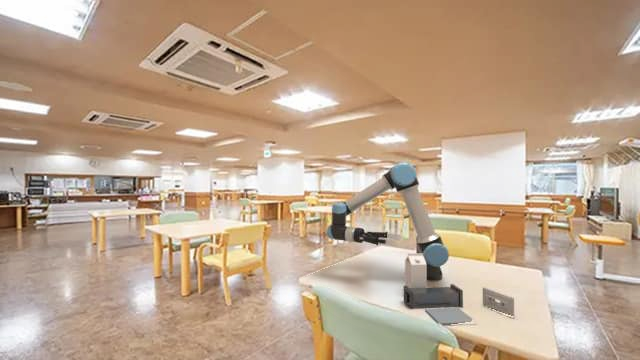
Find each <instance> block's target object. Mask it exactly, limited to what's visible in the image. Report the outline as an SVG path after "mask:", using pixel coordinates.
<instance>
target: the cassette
mask: <svg viewBox="0 0 640 360" xmlns="http://www.w3.org/2000/svg"><path fill="white" fill-rule="evenodd" d="M496 300H497V301H496ZM498 301H499V302H498ZM483 305H484V306H483ZM482 306H483V307H485V306H487V307H488V308H491V309H494V310H496V311H499V312H502V313H505V314H508V315H511V316H514V317H515V298H514V297H512V296H511V295H510V296H509V295H506V294H504V293H501V292H498V291H496V290H493V289H490V288H488V287H485V286H484V287H482ZM487 307H486V308H487ZM488 308H487V309H488ZM491 309H490V310H491Z"/></svg>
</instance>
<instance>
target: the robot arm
mask: <svg viewBox="0 0 640 360" xmlns="http://www.w3.org/2000/svg"><path fill="white" fill-rule="evenodd" d="M419 186H420V182H419V181H418V177H417V170H416V169H415V167H414V166H413V165H412V164H410V163H409V162H399V163H396V164H395V165H393V166H392V167H391V168H390V169H389V170H388V171H387V172H386V173H384V174H383V175H382V176H381V178H380V179H377V180H376V181H375V182H374V183H372V184H370V185H368V186H367V187H366V188H364V189H363V190H361V191H359V192H357V193H356V194H355V195H353V196H351V197H350V198H348V199H346V201H344V202H342V203H339V202H337V203H336V202H335V203H332V207H331V224H330V225H328V227H327V229H326V236H327V237H328V239H330V240H331V239H332V240H335V241H344V242H349V243H352V242H353V243H356V244H357V243H359V244H361V243H364V242H366V243H369V244H373V245H375V246H379V245H386V246H394V241H401V234H398V233H397V234H396V233H390V232H388V231H385V232H384V231H383V232H382V231H381V232H380V231H365V229H364V228H362V227H355V226H346V225H347V217H348V216H349V215H350V214H352V213H353V212H355V211H357V210H358V209H360V208H361V207H363V206H365V205H366V204H368V203H369V202H371V201H373V200H374V199H376V198H378V197H379V196H381V195H382V194H385V193H386V192H387V191H389V190H391V191H393V190H394V189H395V190H396V192H397V193H398V194H401V197H402V199H403V202H404V204H405V207H406V209H407V213H408V215H409V217H410V220H411V223H412V225H413V227H414V231H415V233H416V238H415V241H416V244H415V245H416V247H415V248H416V249H415V250H416V253H423V257H424V259H425V262H426V264H427V281H433V282H434V281H441V280H443V271H442V269H441V267H442V266H443V265H445V264H446V263H447V262H448V260H449V257H450V253H449V249H448V248H447V247H446V246H445V243H443V240H442V236H441V235H440V233H437V232H436V231H435V228H434V226H433V223H432V220H431V218H430V216H429V213H428V211H427V208H426V206H425V203H424V201H423V198H422V196H421V193H420V191H419Z"/></svg>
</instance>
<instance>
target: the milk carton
mask: <svg viewBox="0 0 640 360" xmlns="http://www.w3.org/2000/svg"><path fill="white" fill-rule="evenodd" d="M404 262H405V263H404V265H405V266H404V271H405V272H404V274H405V276H404V281H405V282H404V285H406V286H408V287H409V288H428V285H427V281H428V280H427V264H426V262H425V259H424V257H423V253H414V252H413V253H412V252H411V253H407V257H406V258H405V261H404Z"/></svg>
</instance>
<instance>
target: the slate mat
mask: <svg viewBox="0 0 640 360" xmlns="http://www.w3.org/2000/svg"><path fill="white" fill-rule="evenodd" d="M424 311H425V313H426V314H427V315H429V317H430V318H431V319H432V320H434V322H435V323H437V322H438V323H440V324H442V325H444V326H452V325H451V324H458V323H465V322H471V321H472V319H473V317H471V316H469V315H468V314H467V313H465V312H464V311H463V310H461V308H460V307H444V308H424ZM438 323H437V324H438Z"/></svg>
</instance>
